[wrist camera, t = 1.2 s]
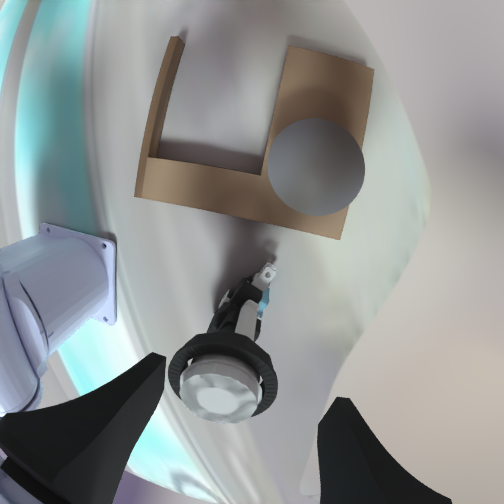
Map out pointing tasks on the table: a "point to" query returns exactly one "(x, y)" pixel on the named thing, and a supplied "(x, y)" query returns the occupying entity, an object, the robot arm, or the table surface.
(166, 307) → the table surface
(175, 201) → the notched board
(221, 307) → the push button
